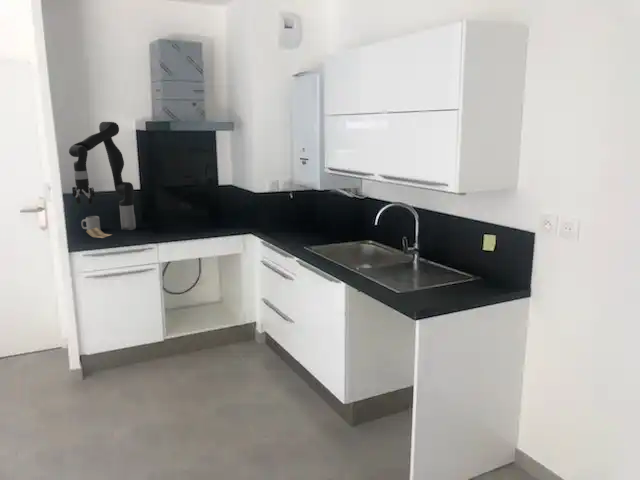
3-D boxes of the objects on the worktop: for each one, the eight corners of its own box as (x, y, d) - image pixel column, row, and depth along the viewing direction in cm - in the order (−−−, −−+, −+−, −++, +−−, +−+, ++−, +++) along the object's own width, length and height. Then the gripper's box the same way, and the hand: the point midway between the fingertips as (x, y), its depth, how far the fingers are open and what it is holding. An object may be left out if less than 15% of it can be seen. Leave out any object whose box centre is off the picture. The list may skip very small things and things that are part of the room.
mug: (102, 231, 363) (101, 215, 360) (98, 234, 354) (96, 218, 352) (84, 231, 362) (83, 216, 359) (80, 234, 354) (78, 218, 351)
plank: (96, 228, 350) (96, 227, 350) (104, 235, 350) (104, 233, 349) (85, 231, 341) (86, 230, 340) (94, 238, 340) (94, 236, 340)
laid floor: (95, 235, 352) (95, 232, 352) (113, 236, 348) (113, 234, 348) (84, 238, 342) (84, 236, 341) (102, 240, 338) (102, 238, 338)
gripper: (95, 177, 327) (98, 203, 331) (75, 176, 330) (79, 202, 335) (87, 179, 320) (90, 205, 324) (67, 178, 323) (70, 204, 328)
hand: (84, 203), depth 329 cm, fingers open, 8 cm apart
